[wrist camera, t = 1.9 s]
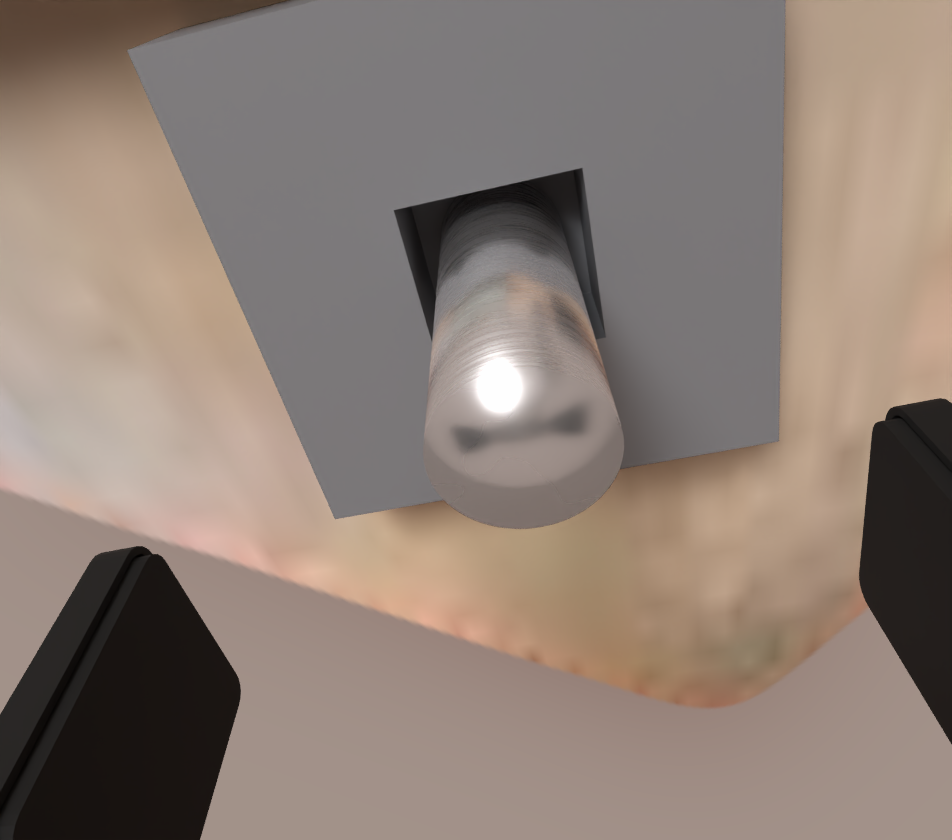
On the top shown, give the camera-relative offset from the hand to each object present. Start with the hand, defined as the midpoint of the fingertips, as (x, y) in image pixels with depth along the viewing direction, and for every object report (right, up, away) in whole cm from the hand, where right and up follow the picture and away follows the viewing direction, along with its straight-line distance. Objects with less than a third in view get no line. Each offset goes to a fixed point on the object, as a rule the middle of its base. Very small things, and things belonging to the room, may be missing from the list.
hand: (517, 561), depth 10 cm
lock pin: (0, +6, +9) cm, 11 cm away
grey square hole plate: (0, +7, +9) cm, 11 cm away
